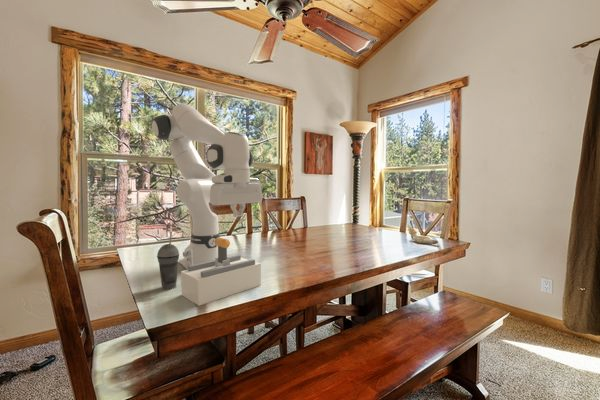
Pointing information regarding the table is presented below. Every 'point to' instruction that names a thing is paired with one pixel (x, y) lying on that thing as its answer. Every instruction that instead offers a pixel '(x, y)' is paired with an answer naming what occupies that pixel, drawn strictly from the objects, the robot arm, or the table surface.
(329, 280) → the table surface
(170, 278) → the beverage cup
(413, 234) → the lying animal figurine
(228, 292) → the box
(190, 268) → the grey slotted rail
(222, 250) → the lever
